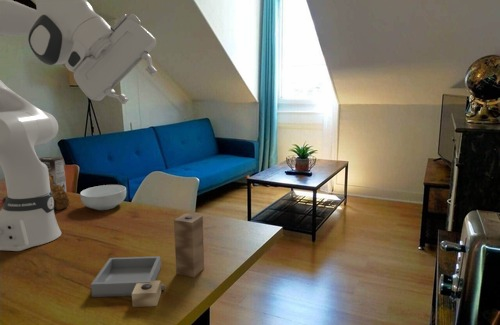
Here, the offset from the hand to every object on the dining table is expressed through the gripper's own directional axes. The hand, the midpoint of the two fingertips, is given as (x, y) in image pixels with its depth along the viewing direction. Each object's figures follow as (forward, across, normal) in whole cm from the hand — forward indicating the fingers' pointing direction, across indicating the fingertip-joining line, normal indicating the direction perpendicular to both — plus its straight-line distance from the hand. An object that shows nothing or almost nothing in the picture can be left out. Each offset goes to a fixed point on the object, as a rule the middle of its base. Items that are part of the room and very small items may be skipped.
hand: (140, 87), depth 80 cm
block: (+40, +23, -3) cm, 46 cm away
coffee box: (-15, +78, -69) cm, 106 cm away
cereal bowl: (+8, +55, -51) cm, 75 cm away
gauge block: (+36, +28, +10) cm, 47 cm away
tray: (+31, +33, +3) cm, 45 cm away
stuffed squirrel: (-5, +69, -48) cm, 84 cm away
